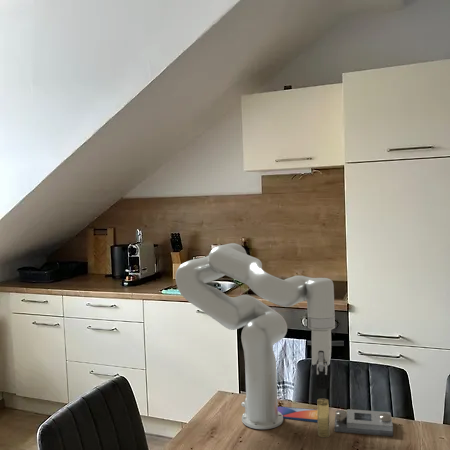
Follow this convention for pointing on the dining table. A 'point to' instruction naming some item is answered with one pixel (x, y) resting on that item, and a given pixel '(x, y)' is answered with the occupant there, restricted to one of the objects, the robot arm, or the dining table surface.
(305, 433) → the dining table surface
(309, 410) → the smartphone
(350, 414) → the grey block with knobs
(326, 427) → the pin
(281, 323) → the robot arm
